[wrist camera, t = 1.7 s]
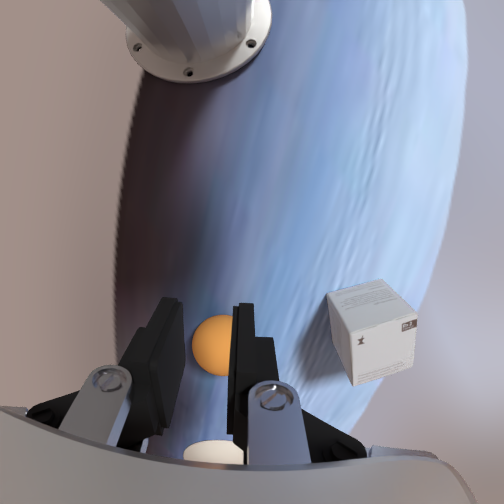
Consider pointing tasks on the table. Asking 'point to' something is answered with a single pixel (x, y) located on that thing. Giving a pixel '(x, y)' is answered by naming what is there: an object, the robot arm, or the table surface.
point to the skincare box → (372, 330)
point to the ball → (213, 344)
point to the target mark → (214, 452)
